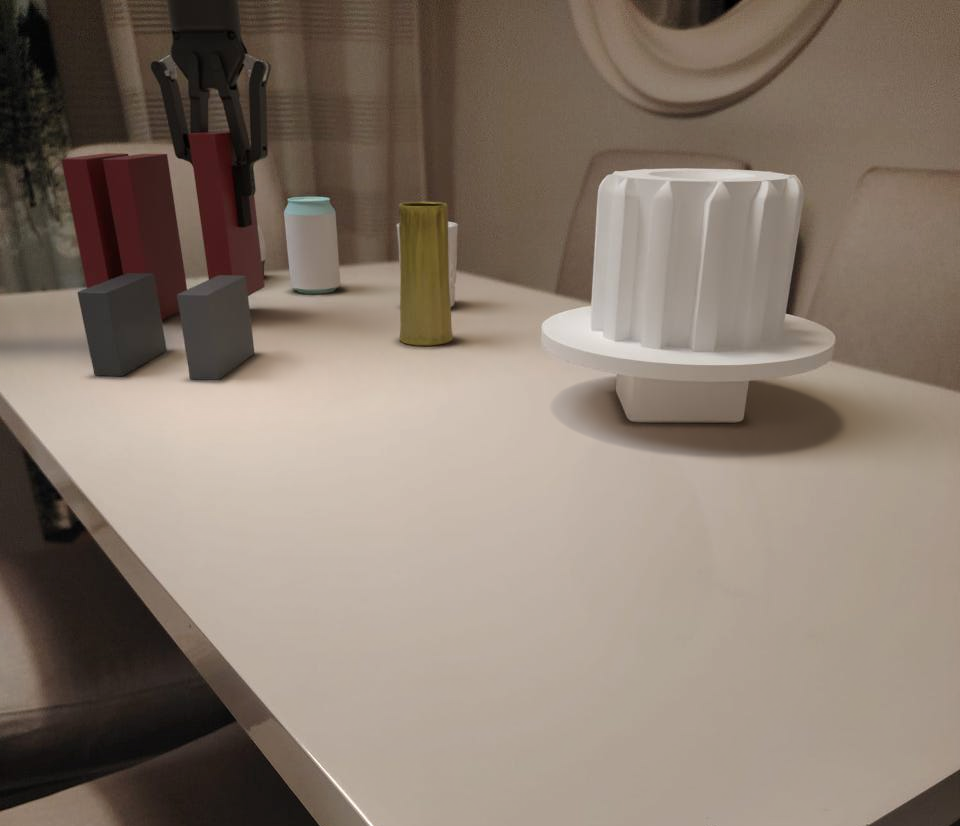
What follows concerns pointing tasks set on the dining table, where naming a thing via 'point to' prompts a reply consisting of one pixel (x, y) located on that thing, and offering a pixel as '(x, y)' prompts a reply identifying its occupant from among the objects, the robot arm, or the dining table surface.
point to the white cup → (451, 256)
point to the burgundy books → (127, 220)
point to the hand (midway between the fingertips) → (230, 225)
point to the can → (312, 245)
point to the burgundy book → (224, 211)
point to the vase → (424, 274)
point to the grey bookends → (139, 331)
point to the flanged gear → (692, 292)
